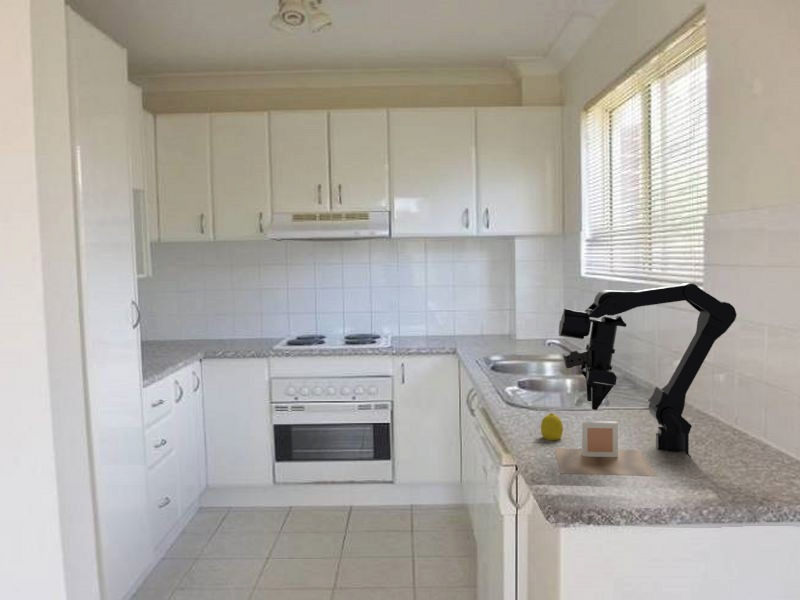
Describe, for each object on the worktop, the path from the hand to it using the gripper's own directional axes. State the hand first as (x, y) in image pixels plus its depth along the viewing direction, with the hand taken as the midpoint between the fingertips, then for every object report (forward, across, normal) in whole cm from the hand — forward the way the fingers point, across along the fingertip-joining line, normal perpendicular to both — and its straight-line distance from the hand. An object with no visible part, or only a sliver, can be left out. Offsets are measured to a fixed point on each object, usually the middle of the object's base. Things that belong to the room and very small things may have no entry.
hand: (591, 405), depth 154 cm
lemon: (+14, -8, -7) cm, 17 cm away
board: (+12, +10, +3) cm, 16 cm away
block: (+10, +6, +3) cm, 12 cm away
